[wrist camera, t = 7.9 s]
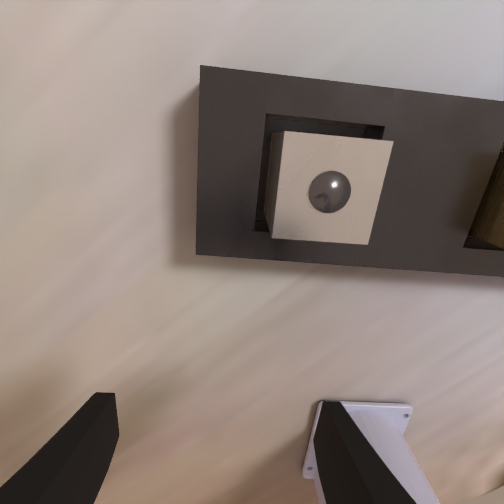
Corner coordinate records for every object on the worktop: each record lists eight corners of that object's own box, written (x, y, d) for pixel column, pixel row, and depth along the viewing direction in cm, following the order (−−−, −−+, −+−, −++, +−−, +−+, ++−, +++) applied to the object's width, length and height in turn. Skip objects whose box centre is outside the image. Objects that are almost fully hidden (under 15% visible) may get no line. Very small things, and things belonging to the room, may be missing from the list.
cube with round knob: (334, 217, 18) (368, 245, 13) (263, 212, 17) (272, 238, 13) (349, 141, 16) (394, 141, 11) (271, 133, 16) (285, 130, 11)
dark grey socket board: (549, 266, 20) (589, 282, 17) (201, 240, 18) (195, 254, 16) (623, 125, 16) (684, 123, 14) (206, 76, 15) (200, 65, 12)
